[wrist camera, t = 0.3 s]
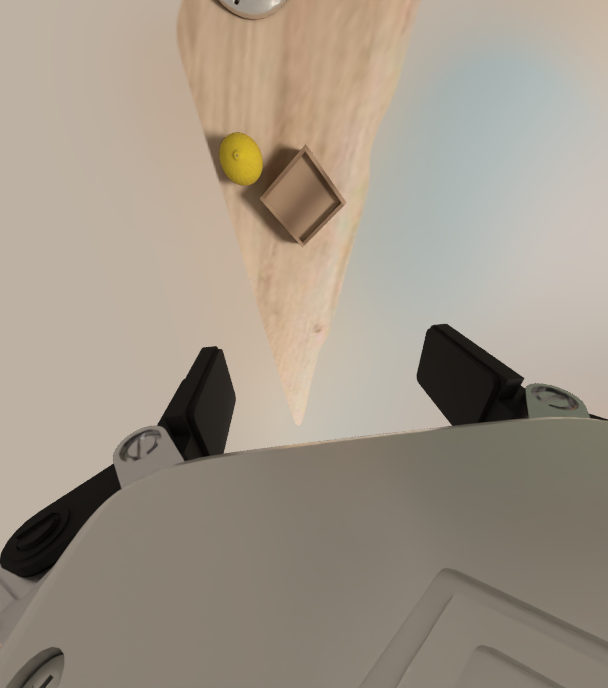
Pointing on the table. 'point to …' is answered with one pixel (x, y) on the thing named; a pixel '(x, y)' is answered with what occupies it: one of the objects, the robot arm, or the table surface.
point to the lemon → (241, 159)
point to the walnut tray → (303, 197)
